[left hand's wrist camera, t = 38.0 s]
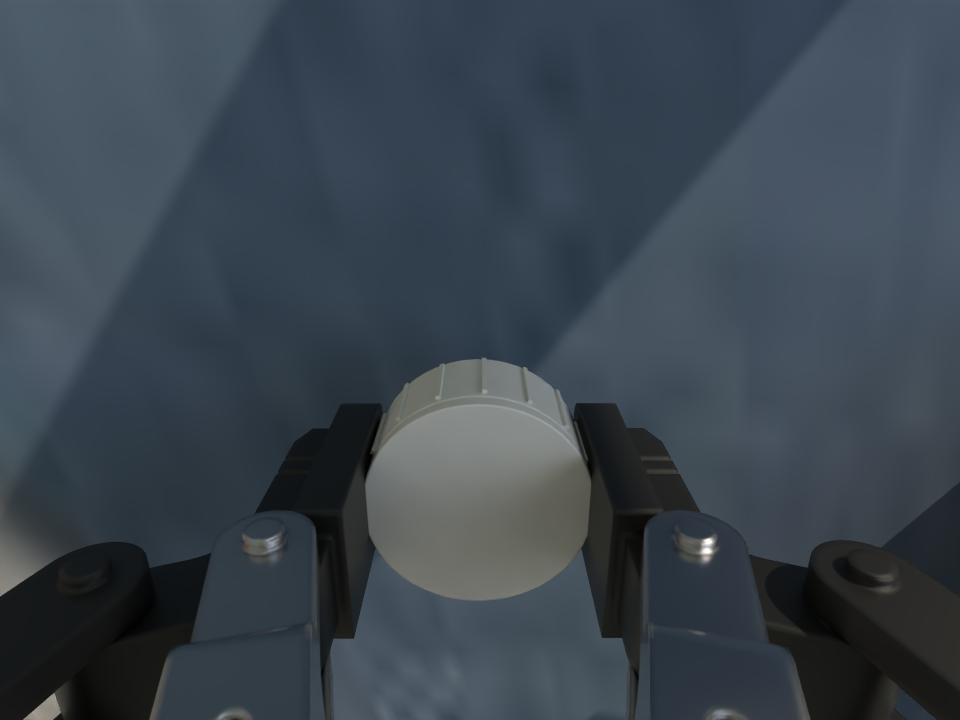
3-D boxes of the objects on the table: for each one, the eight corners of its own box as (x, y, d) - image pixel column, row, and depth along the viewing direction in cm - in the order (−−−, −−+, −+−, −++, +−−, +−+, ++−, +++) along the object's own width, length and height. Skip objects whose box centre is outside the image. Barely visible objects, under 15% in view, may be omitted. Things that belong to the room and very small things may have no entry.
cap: (456, 315, 11) (451, 355, 9) (621, 431, 12) (646, 489, 10) (339, 468, 12) (314, 529, 10) (497, 564, 13) (501, 636, 11)
